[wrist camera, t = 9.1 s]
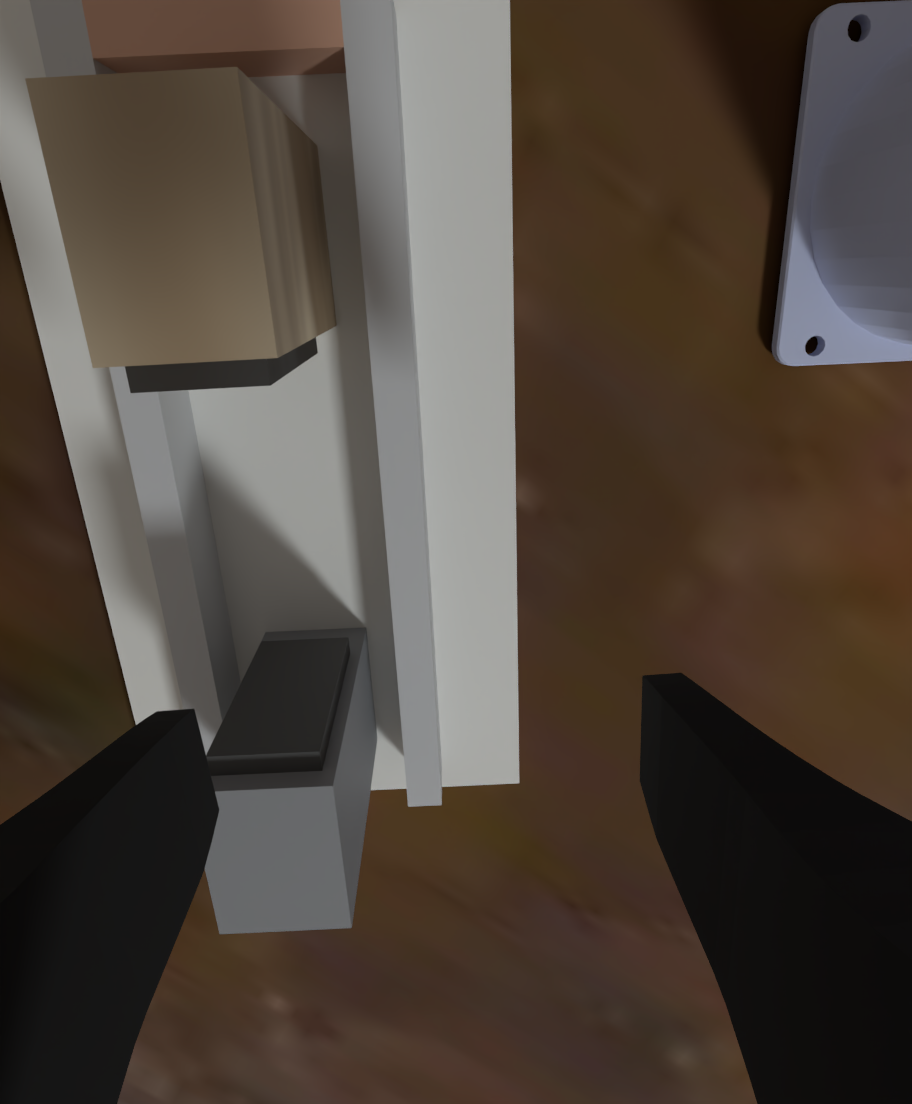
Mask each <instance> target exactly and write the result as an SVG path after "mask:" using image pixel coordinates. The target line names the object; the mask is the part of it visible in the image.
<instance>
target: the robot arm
mask: <svg viewBox="0 0 912 1104" xmlns="http://www.w3.org/2000/svg"><path fill="white" fill-rule="evenodd" d="M851 20H855V21H858V23H859V24H860V26H861V36H860V39H859V41H858V42H854V41H852V40H851V39H850V38H849V36H848V26H849V23H850V21H851ZM813 336H815V337H816V338H817V341H818V345H817V348H816V350H815V351H814V352H812V353H811V354H807V353H806V351H805V345H806V342H807V341H808V340H809V339H810V338H811V337H813ZM772 354H773V356H774V358H775V360H777V361H778V362H779V363H781V364H784V365H789V366H805V365H827V364H848V363H870V362H892V361H912V0H902V1H880V2H858V3H839V4H836V5H832V6H830V7H828V8H827V9H825V10H824V11H823V12H821V13H820V14H819V15H818V16H816V18H815V20H814V21H813V23H812V24H811V27H810V30H809V34H808V41H807V49H806V58H805V66H804V75H803V83H802V92H801V100H800V109H799V117H798V126H797V135H796V143H795V152H794V160H793V169H792V177H791V186H790V194H789V203H788V211H787V220H786V228H785V237H784V245H783V254H782V263H781V271H780V280H779V288H778V297H777V305H776V314H775V322H774V331H773V339H772ZM640 782H641V786H642V790H643V793H644V797H645V801H646V804H647V808H648V811H649V815H650V818H651V822H652V825H653V828H654V832H655V835H656V838H657V841H658V843H659V845H660V848H661V850H662V853H663V855H664V857H665V860H666V862H667V865H668V867H669V869H670V872H671V874H672V876H673V879H674V881H675V883H676V886H677V888H678V890H679V893H680V895H681V897H682V900H683V902H684V904H685V907H686V909H687V911H688V914H689V916H690V918H691V921H692V923H693V925H694V928H695V930H696V932H697V935H698V937H699V939H700V942H701V944H702V946H703V949H704V951H705V953H706V956H707V958H708V960H709V963H710V965H711V967H712V970H713V972H714V974H715V977H716V980H717V982H718V985H719V987H720V990H721V993H722V995H723V998H724V1001H725V1003H726V1006H727V1009H728V1012H729V1015H730V1018H731V1021H732V1024H733V1028H734V1031H735V1034H736V1037H737V1040H738V1043H739V1046H740V1049H741V1052H742V1055H743V1059H744V1062H745V1065H746V1068H747V1071H748V1074H749V1077H750V1080H751V1084H752V1087H753V1090H754V1093H755V1097H756V1100H757V1103H758V1104H912V821H910V820H908V819H906V818H904V817H902V816H900V815H898V814H896V813H895V812H893V811H891V810H889V809H887V808H885V807H883V806H881V805H880V804H878V803H876V802H874V801H872V800H870V799H868V798H866V797H864V796H863V795H861V794H859V793H857V792H855V791H854V790H852V789H850V788H849V787H847V786H845V785H843V784H842V783H840V782H838V781H837V780H835V779H833V778H832V777H830V776H828V775H827V774H825V773H824V772H822V771H820V770H819V769H817V768H816V767H814V766H812V765H811V764H809V763H808V762H806V761H804V760H803V759H801V758H800V757H798V756H797V755H795V754H794V753H792V752H791V751H789V750H788V749H786V748H785V747H783V746H782V745H780V744H779V743H777V742H776V741H774V740H773V739H771V738H770V737H769V736H767V735H766V734H764V733H763V732H761V731H760V730H759V729H757V728H756V727H754V726H753V725H752V724H750V723H749V722H747V721H746V720H745V719H743V718H742V717H741V716H739V715H738V714H736V713H735V712H734V711H732V710H731V709H730V708H728V707H727V706H726V705H724V704H723V703H722V702H720V701H719V700H718V699H716V698H715V697H714V696H712V695H711V694H710V693H708V692H707V691H706V690H704V689H703V688H702V687H700V686H699V685H698V684H696V683H695V682H693V681H692V680H691V679H689V678H688V677H686V676H685V675H683V674H682V673H673V674H659V675H645V676H643V682H642V719H641V755H640ZM218 814H219V806H218V802H217V798H216V794H215V790H214V786H213V782H212V778H211V774H210V770H209V766H208V762H207V758H206V754H205V750H204V746H203V742H202V738H201V733H200V729H199V725H198V721H197V717H196V713H195V709H182V710H168V711H157V712H155V713H153V714H152V715H150V716H149V717H147V718H146V719H144V720H143V721H141V722H140V723H138V724H137V725H136V726H134V727H133V728H132V729H130V730H129V731H128V732H126V733H125V734H123V735H122V736H121V737H119V738H118V739H117V740H116V741H114V742H113V743H112V744H110V745H109V746H108V747H106V748H105V749H104V750H102V751H101V752H100V753H98V754H97V755H96V756H95V757H93V758H92V759H91V760H89V761H88V762H87V763H85V764H84V765H83V766H81V767H80V768H79V769H77V770H76V771H75V772H73V773H72V774H71V775H69V776H68V777H67V778H65V779H64V780H63V781H61V782H60V783H59V784H57V785H56V786H55V787H53V788H52V789H51V790H49V791H48V792H47V793H45V794H44V795H42V796H41V797H39V798H38V799H37V800H35V801H34V802H32V803H31V804H30V805H28V806H27V807H25V808H24V809H22V810H21V811H20V812H18V813H17V814H15V815H14V816H12V817H11V818H10V819H8V820H7V821H5V822H4V823H2V824H1V825H0V1104H117V1101H118V1098H119V1095H120V1091H121V1088H122V1085H123V1082H124V1078H125V1075H126V1072H127V1068H128V1065H129V1062H130V1058H131V1055H132V1052H133V1049H134V1045H135V1043H136V1040H137V1037H138V1034H139V1032H140V1029H141V1026H142V1023H143V1021H144V1018H145V1015H146V1012H147V1010H148V1007H149V1005H150V1002H151V1000H152V998H153V995H154V993H155V990H156V988H157V985H158V983H159V980H160V978H161V976H162V973H163V971H164V968H165V966H166V963H167V961H168V958H169V956H170V954H171V951H172V949H173V946H174V944H175V941H176V939H177V937H178V934H179V932H180V929H181V927H182V924H183V922H184V919H185V917H186V914H187V912H188V909H189V907H190V904H191V902H192V899H193V897H194V894H195V892H196V889H197V887H198V884H199V882H200V879H201V877H202V874H203V871H204V868H205V865H206V861H207V857H208V854H209V850H210V847H211V843H212V839H213V835H214V830H215V826H216V822H217V818H218Z"/></svg>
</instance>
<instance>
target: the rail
mask: <svg viewBox="0 0 912 1104" xmlns="http://www.w3.org/2000/svg"><path fill="white" fill-rule="evenodd" d="M223 67H238V68H239V69H240V70H241V71H242V72H243V73H244V74H245V75H246V76H247V77H248V78H249V79H250V80H251V81H252V82H253V83H254V84H255V85H256V86H257V87H258V88H259V89H260V90H261V91H262V92H263V93H264V94H265V95H266V96H267V97H268V98H269V99H270V100H271V101H272V102H273V103H274V104H275V105H276V106H277V107H278V108H279V109H280V110H281V111H283V112H284V113H285V114H286V115H287V116H288V117H289V118H290V119H291V120H292V121H293V122H294V123H295V124H296V125H297V126H298V127H299V128H300V129H301V130H302V131H303V132H304V133H305V134H306V135H307V136H308V137H309V138H310V139H311V140H312V141H313V142H314V143H315V144H316V145H317V147H318V156H319V166H320V175H321V184H322V193H323V203H324V212H325V221H326V230H327V240H328V249H329V258H330V268H331V277H332V286H333V295H334V305H335V314H336V323H337V326H335V327H333V328H332V329H330V330H328V331H326V332H324V333H322V334H321V335H319V336H317V337H316V342H317V351H318V353H317V354H316V355H314V356H313V357H312V358H310V359H309V360H307V361H306V362H304V363H303V364H301V365H300V366H298V367H297V368H296V369H294V370H293V371H291V372H290V373H288V374H287V375H285V376H284V377H282V378H281V379H279V380H278V381H277V382H275V383H274V384H272V385H271V386H254V387H236V388H218V389H199V390H181V391H163V392H145V393H130V388H129V384H128V379H127V374H126V370H125V366H123V367H104V368H93V367H92V362H91V358H90V354H89V350H88V345H87V341H86V337H85V333H84V328H83V324H82V320H81V315H80V311H79V307H78V303H77V298H76V294H75V290H74V286H73V281H72V277H71V273H70V268H69V264H68V260H67V256H66V251H65V247H64V243H63V239H62V234H61V230H60V226H59V221H58V217H57V213H56V209H55V204H54V200H53V196H52V192H51V187H50V183H49V179H48V174H47V170H46V166H45V162H44V157H43V153H42V149H41V145H40V140H39V136H38V132H37V127H36V123H35V119H34V115H33V110H32V106H31V102H30V98H29V93H28V89H27V85H26V80H25V78H43V77H61V76H79V75H97V74H115V73H133V72H151V71H169V70H187V69H205V68H223ZM0 181H1V185H2V189H3V193H4V197H5V201H6V205H7V209H8V213H9V217H10V222H11V226H12V230H13V234H14V238H15V242H16V246H17V250H18V254H19V258H20V262H21V266H22V270H23V274H24V278H25V282H26V286H27V290H28V294H29V298H30V302H31V306H32V310H33V314H34V318H35V322H36V326H37V330H38V334H39V338H40V342H41V346H42V350H43V354H44V358H45V362H46V366H47V370H48V374H49V378H50V382H51V386H52V390H53V394H54V398H55V402H56V406H57V410H58V414H59V418H60V422H61V426H62V430H63V434H64V438H65V442H66V446H67V450H68V455H69V459H70V463H71V467H72V471H73V475H74V479H75V483H76V487H77V491H78V495H79V499H80V503H81V507H82V511H83V515H84V519H85V523H86V527H87V531H88V535H89V539H90V543H91V547H92V551H93V555H94V559H95V563H96V567H97V571H98V575H99V579H100V583H101V587H102V591H103V595H104V599H105V603H106V607H107V611H108V615H109V619H110V623H111V627H112V631H113V635H114V639H115V643H116V647H117V651H118V655H119V659H120V663H121V667H122V671H123V675H124V679H125V683H126V688H127V692H128V696H129V700H130V704H131V708H132V712H133V716H134V720H135V724H136V725H137V724H138V723H140V722H141V721H143V720H144V719H146V718H147V717H149V716H150V715H152V714H153V713H155V712H157V711H168V710H182V709H195V713H196V717H197V721H198V725H199V729H200V733H201V738H202V742H203V746H204V750H205V754H206V758H207V762H208V766H209V770H210V774H211V778H212V782H213V786H214V790H215V794H216V798H217V802H218V806H219V814H218V818H217V822H216V826H215V830H214V835H213V839H212V843H211V847H210V850H209V854H208V857H207V861H206V865H205V871H206V876H207V880H208V884H209V889H210V893H211V898H212V902H213V907H214V911H215V915H216V920H217V924H218V929H219V933H220V934H234V933H255V932H276V931H298V930H319V929H340V928H352V922H353V914H354V907H355V900H356V893H357V885H358V878H359V871H360V863H361V856H362V849H363V841H364V834H365V827H366V819H367V812H368V805H369V797H370V790H385V789H406V788H407V798H408V807H411V806H432V805H442V787H449V786H470V785H492V784H513V783H519V723H518V640H517V556H516V473H515V390H514V307H513V224H512V141H511V58H510V0H0Z"/></svg>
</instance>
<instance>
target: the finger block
mask: <svg viewBox="0 0 912 1104" xmlns="http://www.w3.org/2000/svg"><path fill="white" fill-rule="evenodd" d="M25 80H26V85H27V89H28V93H29V98H30V102H31V106H32V110H33V115H34V119H35V123H36V127H37V132H38V136H39V140H40V145H41V149H42V153H43V157H44V162H45V166H46V170H47V174H48V179H49V183H50V187H51V192H52V196H53V200H54V204H55V209H56V213H57V217H58V221H59V226H60V230H61V234H62V239H63V243H64V247H65V251H66V256H67V260H68V264H69V268H70V273H71V277H72V281H73V286H74V290H75V294H76V298H77V303H78V307H79V311H80V315H81V320H82V324H83V328H84V333H85V337H86V341H87V345H88V350H89V354H90V358H91V362H92V367H93V368H104V367H123V366H125V370H126V374H127V379H128V384H129V388H130V393H145V392H163V391H181V390H199V389H218V388H236V387H254V386H271V385H272V384H274V383H275V382H277V381H278V380H279V379H281V378H282V377H284V376H285V375H287V374H288V373H290V372H291V371H293V370H294V369H296V368H297V367H298V366H300V365H301V364H303V363H304V362H306V361H307V360H309V359H310V358H312V357H313V356H314V355H316V354H317V353H318V351H317V342H316V337H317V336H319V335H321V334H322V333H324V332H326V331H328V330H330V329H332V328H333V327H335V326H337V323H336V314H335V305H334V295H333V286H332V277H331V268H330V258H329V249H328V240H327V230H326V221H325V212H324V203H323V193H322V184H321V175H320V166H319V156H318V147H317V145H316V144H315V143H314V142H313V141H312V140H311V139H310V138H309V137H308V136H307V135H306V134H305V133H304V132H303V131H302V130H301V129H300V128H299V127H298V126H297V125H296V124H295V123H294V122H293V121H292V120H291V119H290V118H289V117H288V116H287V115H286V114H285V113H284V112H283V111H281V110H280V109H279V108H278V107H277V106H276V105H275V104H274V103H273V102H272V101H271V100H270V99H269V98H268V97H267V96H266V95H265V94H264V93H263V92H262V91H261V90H260V89H259V88H258V87H257V86H256V85H255V84H254V83H253V82H252V81H251V80H250V79H249V78H248V77H247V76H246V75H245V74H244V73H243V72H242V71H241V70H240V69H239V68H238V67H223V68H205V69H187V70H169V71H151V72H133V73H115V74H97V75H79V76H61V77H43V78H25Z"/></svg>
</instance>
